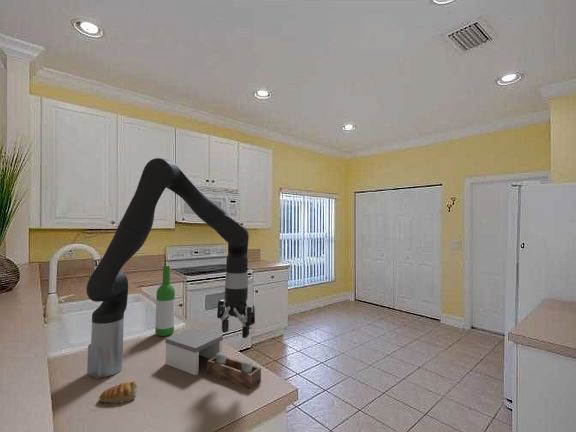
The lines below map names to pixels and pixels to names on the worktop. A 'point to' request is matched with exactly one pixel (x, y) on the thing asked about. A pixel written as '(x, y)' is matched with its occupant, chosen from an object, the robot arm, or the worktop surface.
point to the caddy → (234, 370)
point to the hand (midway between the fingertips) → (235, 334)
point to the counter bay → (189, 357)
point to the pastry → (120, 393)
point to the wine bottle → (165, 306)
